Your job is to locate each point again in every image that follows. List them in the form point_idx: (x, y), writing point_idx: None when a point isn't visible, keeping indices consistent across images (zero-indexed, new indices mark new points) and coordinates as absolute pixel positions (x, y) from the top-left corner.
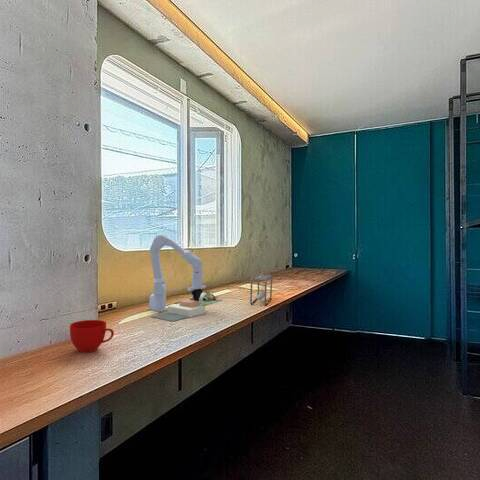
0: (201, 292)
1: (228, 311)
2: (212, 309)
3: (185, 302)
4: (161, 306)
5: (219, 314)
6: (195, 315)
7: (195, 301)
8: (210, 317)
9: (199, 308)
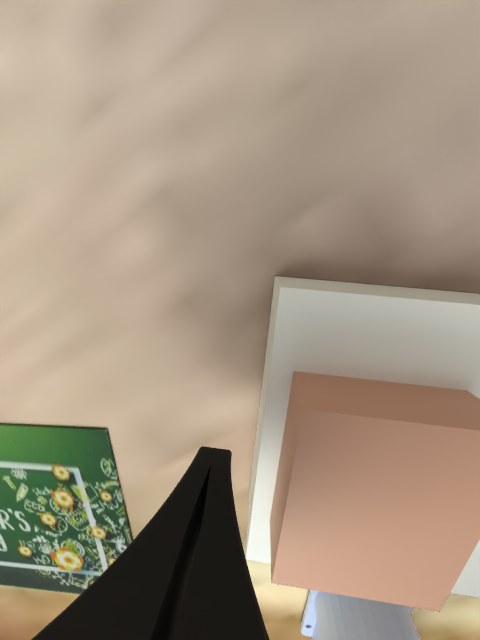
0: (76, 629)
1: (30, 92)
2: (88, 305)
3: (475, 529)
4: (405, 624)
5: (233, 85)
6: (437, 290)
7: (352, 449)
8: (450, 77)
9: (408, 296)
